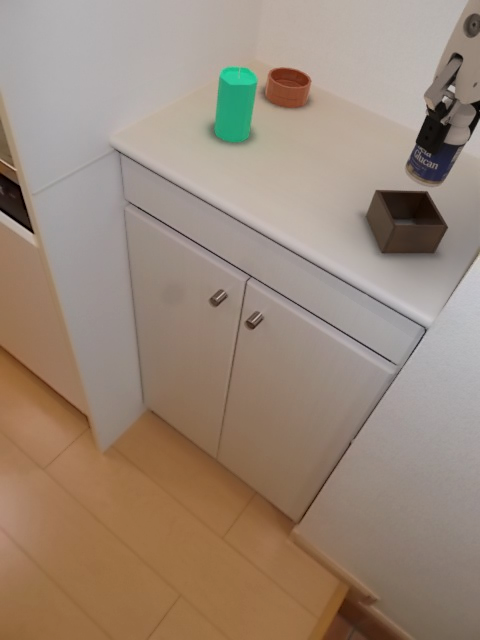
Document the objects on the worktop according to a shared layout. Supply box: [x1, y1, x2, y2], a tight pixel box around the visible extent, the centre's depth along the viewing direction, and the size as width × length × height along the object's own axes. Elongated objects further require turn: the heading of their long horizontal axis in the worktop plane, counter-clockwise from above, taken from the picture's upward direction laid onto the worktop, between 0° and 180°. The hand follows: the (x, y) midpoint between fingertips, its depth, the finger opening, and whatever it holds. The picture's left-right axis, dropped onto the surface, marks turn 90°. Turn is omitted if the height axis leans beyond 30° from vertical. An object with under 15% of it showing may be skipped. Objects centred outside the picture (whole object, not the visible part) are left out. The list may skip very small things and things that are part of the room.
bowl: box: [264, 66, 312, 109], centre depth 98 cm, size 8×8×4 cm
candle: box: [213, 65, 259, 143], centre depth 84 cm, size 6×6×12 cm
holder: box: [365, 189, 449, 254], centre depth 75 cm, size 8×8×6 cm
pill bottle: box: [404, 97, 476, 188], centre depth 65 cm, size 5×5×10 cm
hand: (442, 141), depth 65 cm, fingers closed on pill bottle, 5 cm apart
